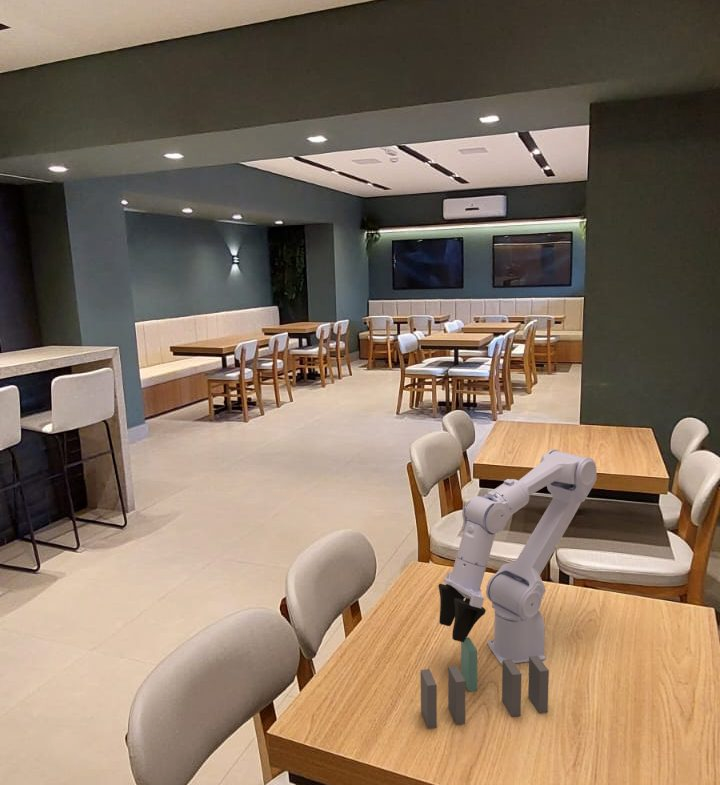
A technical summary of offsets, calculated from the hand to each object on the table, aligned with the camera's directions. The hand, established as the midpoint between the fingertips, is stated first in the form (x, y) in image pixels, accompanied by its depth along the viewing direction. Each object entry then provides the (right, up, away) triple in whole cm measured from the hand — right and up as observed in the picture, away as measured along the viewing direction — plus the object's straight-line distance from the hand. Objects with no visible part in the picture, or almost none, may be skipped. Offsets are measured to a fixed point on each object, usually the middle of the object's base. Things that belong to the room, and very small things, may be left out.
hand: (451, 632), depth 113 cm
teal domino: (+4, -10, +2) cm, 11 cm away
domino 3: (+10, -11, -6) cm, 16 cm away
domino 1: (-5, -12, -8) cm, 15 cm away
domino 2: (0, -12, -7) cm, 14 cm away
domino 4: (+15, -11, -5) cm, 19 cm away
